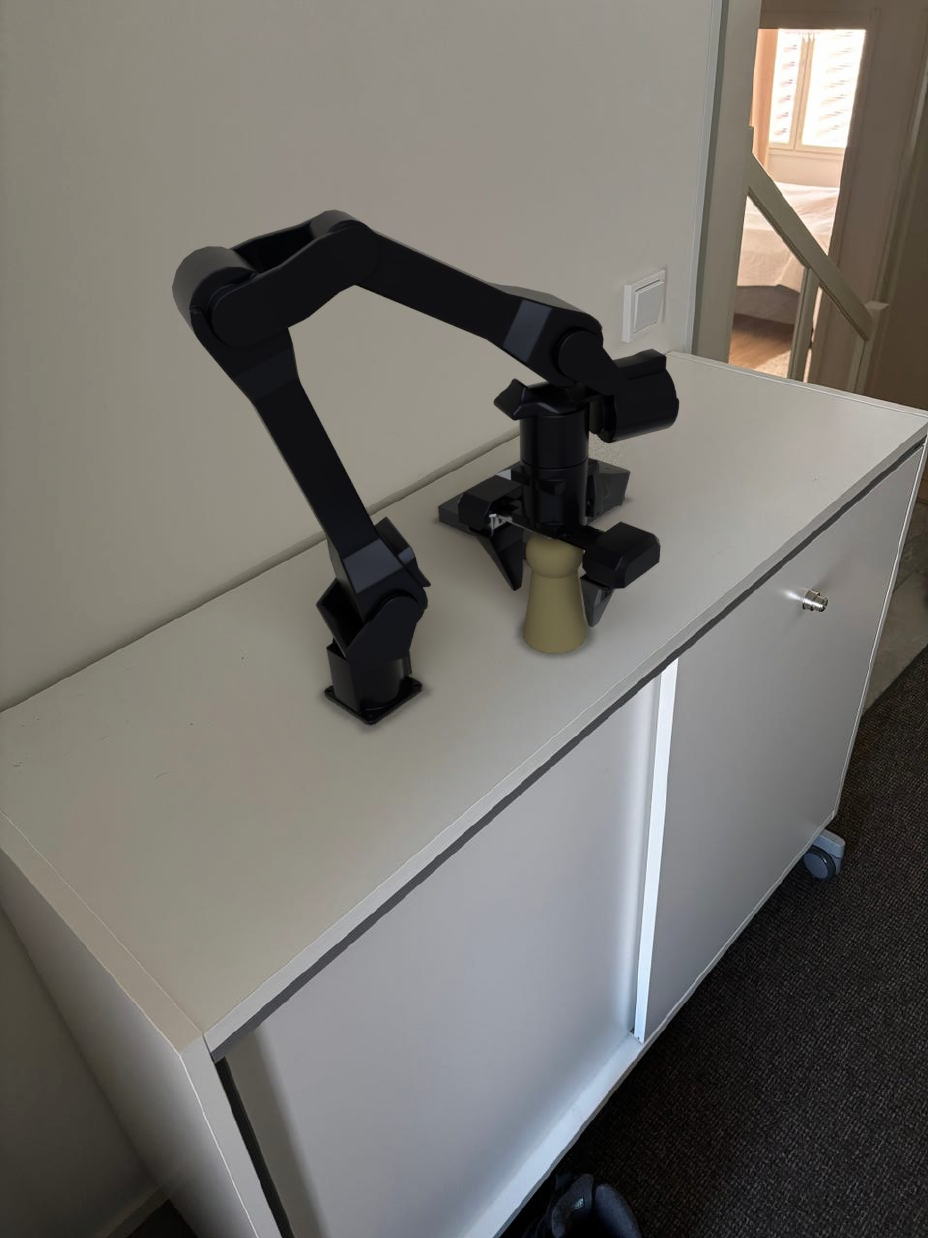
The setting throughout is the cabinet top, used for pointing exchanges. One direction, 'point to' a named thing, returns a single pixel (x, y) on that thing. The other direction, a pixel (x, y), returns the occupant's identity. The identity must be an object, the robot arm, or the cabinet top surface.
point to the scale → (450, 517)
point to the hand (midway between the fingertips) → (554, 606)
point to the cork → (554, 596)
